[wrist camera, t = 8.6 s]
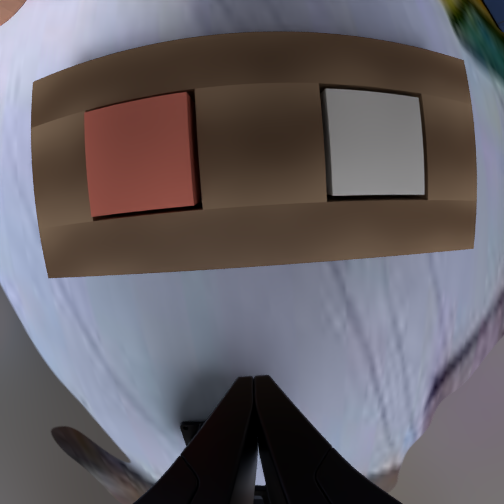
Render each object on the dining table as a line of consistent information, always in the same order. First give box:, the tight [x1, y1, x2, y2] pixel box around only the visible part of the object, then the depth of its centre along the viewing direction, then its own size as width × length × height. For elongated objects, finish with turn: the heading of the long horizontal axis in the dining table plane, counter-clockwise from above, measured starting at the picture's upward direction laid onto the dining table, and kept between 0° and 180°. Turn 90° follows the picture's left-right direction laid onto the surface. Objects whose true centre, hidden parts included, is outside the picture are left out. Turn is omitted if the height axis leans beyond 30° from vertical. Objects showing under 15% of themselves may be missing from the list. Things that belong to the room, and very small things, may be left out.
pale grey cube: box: [320, 89, 424, 196], centre depth 15 cm, size 5×5×4 cm
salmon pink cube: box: [84, 92, 202, 217], centre depth 15 cm, size 5×5×4 cm
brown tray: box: [31, 32, 477, 278], centre depth 16 cm, size 12×26×5 cm, turn 94°
